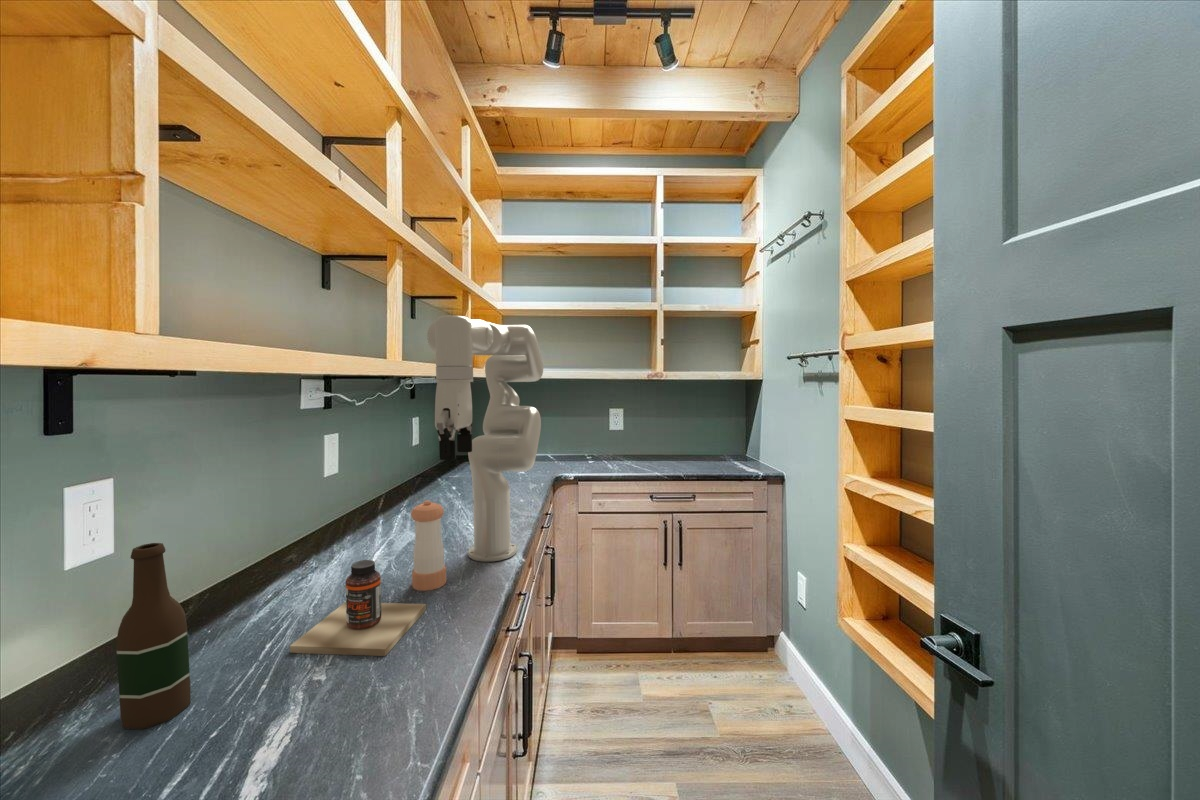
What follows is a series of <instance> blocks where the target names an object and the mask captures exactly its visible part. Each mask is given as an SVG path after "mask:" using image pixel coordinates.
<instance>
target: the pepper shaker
mask: <svg viewBox="0 0 1200 800" xmlns="http://www.w3.org/2000/svg"><path fill="white" fill-rule="evenodd" d="M444 513H445V510H444V508H443V506H442V505H441V504H440V503H436V502H432V501H431V500H428V499H427V500H424V501H423V503H420V504H418V505H416V506H414V507H413V508H412V510H411V513H410V516H411V519H412V520H413V521H414V533H415V535H414V546H413V554H412V559H413V560H412V561H413V562H412V563H413V569H412V571H411V576H412V577H411V580H412V581H411V582H412V583H411V584H412V588H413V589H414V590H415V591H422V592H425V591H426V592H427V591H432V590H436V589H439V588H441V587H443V586H444V585H445V584H446V583H447V566H446V565H445V549H444V544H443V540H442V539H443V538H442V528H441V527H442V525H441V523H442V521H441V518H442V517H443V516H444Z"/></svg>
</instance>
